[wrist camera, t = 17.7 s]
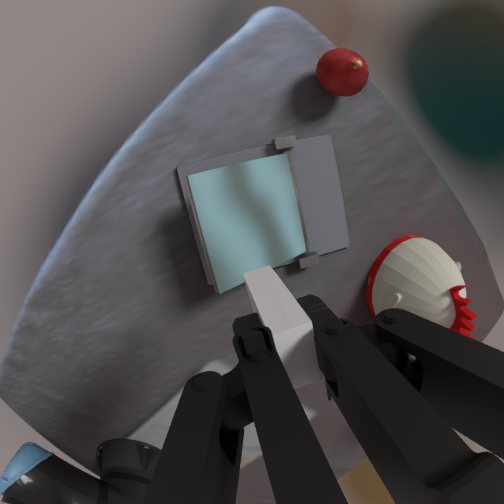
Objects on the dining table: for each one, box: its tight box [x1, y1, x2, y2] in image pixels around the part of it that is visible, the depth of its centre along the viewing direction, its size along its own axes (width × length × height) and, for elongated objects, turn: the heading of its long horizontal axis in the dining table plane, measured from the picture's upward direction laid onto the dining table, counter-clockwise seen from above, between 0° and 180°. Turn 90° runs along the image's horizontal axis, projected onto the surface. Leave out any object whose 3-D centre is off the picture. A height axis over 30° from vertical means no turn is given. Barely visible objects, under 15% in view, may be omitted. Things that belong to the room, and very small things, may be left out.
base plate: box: [177, 135, 350, 285], centre depth 35 cm, size 18×14×1 cm
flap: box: [184, 151, 310, 294], centre depth 31 cm, size 13×12×1 cm
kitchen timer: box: [367, 235, 477, 339], centre depth 34 cm, size 14×14×15 cm
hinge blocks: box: [271, 135, 320, 269], centre depth 34 cm, size 2×15×1 cm, turn 13°
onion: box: [316, 48, 369, 96], centre depth 28 cm, size 6×6×8 cm
